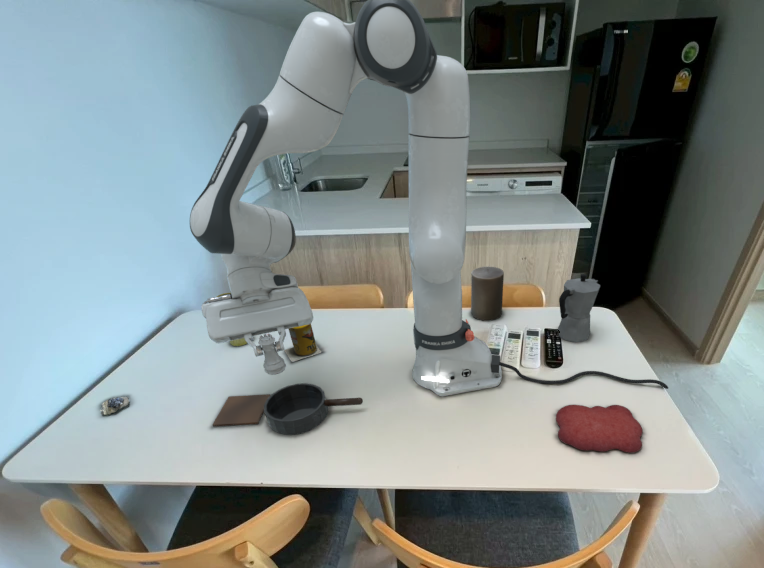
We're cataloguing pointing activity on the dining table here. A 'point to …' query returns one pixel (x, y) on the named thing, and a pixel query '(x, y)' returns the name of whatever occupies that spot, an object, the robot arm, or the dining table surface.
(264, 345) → the rook chess piece
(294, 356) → the condiment
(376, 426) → the dining table surface
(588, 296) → the coffeepot
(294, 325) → the robot arm
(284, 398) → the pan
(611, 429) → the patty
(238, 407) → the plate
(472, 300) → the pillar candle
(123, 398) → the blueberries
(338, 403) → the pan handle
